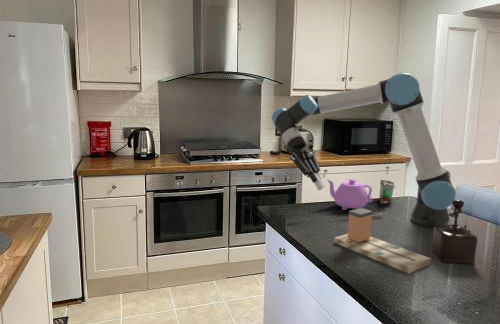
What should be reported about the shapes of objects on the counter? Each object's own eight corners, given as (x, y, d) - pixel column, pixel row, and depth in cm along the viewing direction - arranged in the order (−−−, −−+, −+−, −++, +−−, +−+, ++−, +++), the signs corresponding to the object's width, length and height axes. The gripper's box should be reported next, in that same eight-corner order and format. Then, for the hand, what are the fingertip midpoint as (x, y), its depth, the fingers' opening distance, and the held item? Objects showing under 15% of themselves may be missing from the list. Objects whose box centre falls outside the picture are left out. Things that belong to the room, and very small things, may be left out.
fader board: (334, 242, 147) (334, 237, 146) (355, 236, 154) (356, 230, 153) (409, 273, 123) (409, 267, 123) (430, 264, 130) (430, 258, 130)
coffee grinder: (477, 265, 130) (484, 211, 127) (442, 263, 131) (448, 210, 128) (456, 246, 146) (462, 198, 142) (425, 245, 146) (430, 197, 143)
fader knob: (347, 238, 145) (349, 210, 143) (359, 234, 149) (361, 207, 147) (358, 242, 141) (360, 214, 139) (370, 238, 145) (372, 211, 143)
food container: (395, 206, 194) (396, 186, 192) (381, 205, 195) (383, 185, 193) (391, 199, 206) (393, 180, 204) (379, 198, 207) (380, 179, 205)
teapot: (326, 211, 183) (328, 182, 181) (323, 202, 198) (324, 175, 196) (375, 213, 182) (378, 184, 179) (368, 204, 197) (370, 176, 194)
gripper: (300, 145, 174) (327, 191, 164) (278, 147, 166) (304, 195, 156) (310, 134, 169) (338, 181, 159) (287, 136, 161) (315, 185, 151)
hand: (321, 188), depth 157 cm, fingers closed
